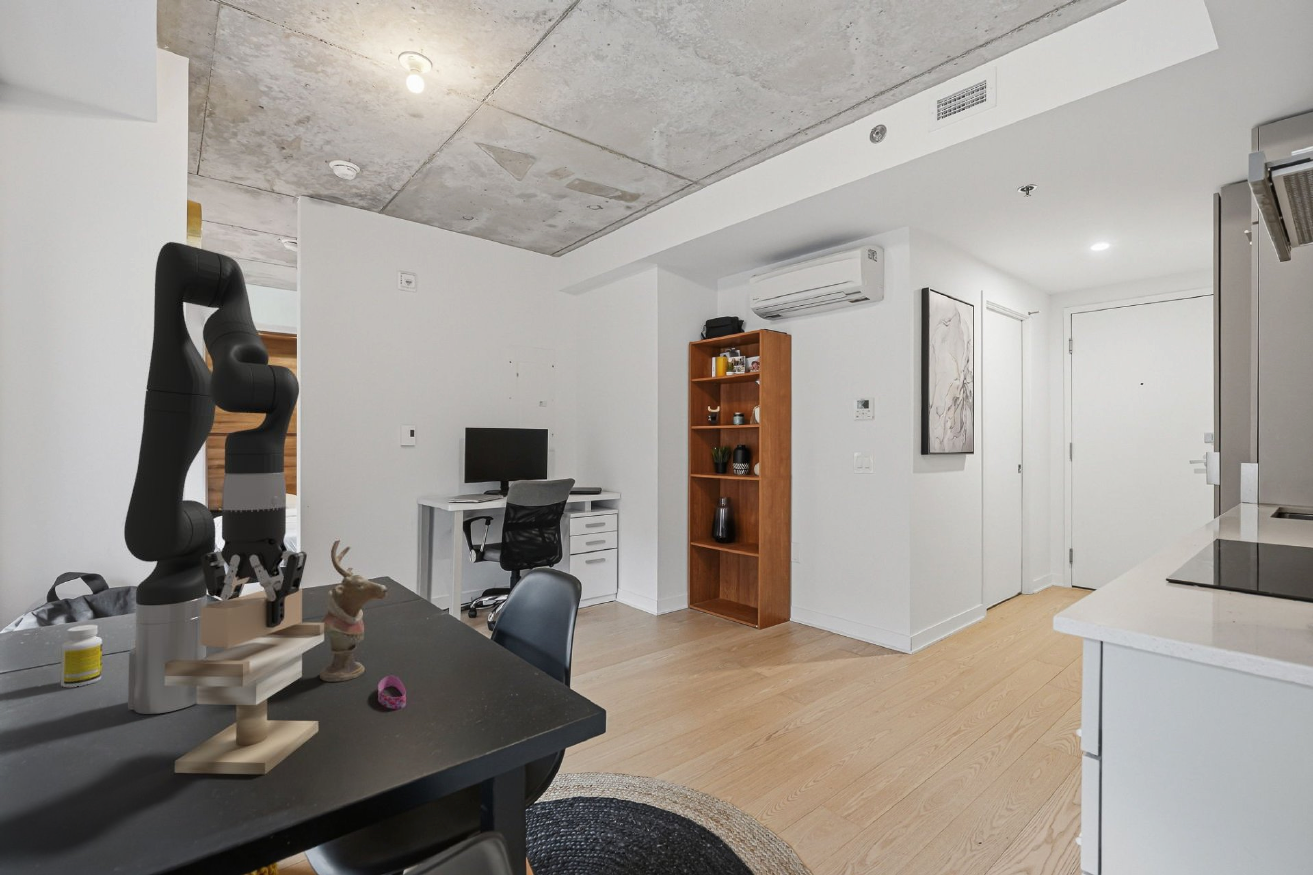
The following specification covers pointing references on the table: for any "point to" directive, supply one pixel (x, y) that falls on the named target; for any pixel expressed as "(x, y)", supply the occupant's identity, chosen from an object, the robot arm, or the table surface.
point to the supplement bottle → (81, 657)
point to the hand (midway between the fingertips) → (253, 625)
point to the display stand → (248, 700)
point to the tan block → (244, 619)
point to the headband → (387, 700)
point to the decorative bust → (347, 619)
